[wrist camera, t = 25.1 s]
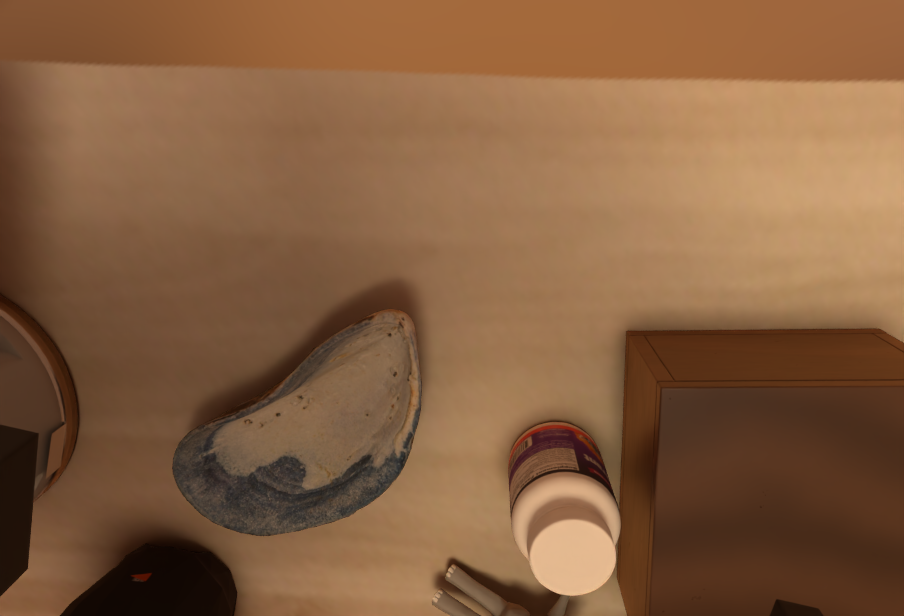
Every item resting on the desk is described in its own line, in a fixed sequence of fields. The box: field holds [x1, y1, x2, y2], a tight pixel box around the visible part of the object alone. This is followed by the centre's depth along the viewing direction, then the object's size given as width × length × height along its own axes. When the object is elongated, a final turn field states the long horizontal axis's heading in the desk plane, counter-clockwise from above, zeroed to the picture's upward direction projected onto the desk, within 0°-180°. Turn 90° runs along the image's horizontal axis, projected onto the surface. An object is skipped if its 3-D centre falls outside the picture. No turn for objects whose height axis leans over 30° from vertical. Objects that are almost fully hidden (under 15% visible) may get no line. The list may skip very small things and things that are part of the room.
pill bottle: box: [508, 422, 621, 596], centre depth 39 cm, size 5×5×10 cm
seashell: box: [172, 309, 422, 536], centre depth 41 cm, size 15×12×5 cm
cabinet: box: [617, 329, 904, 616], centre depth 39 cm, size 16×14×9 cm
